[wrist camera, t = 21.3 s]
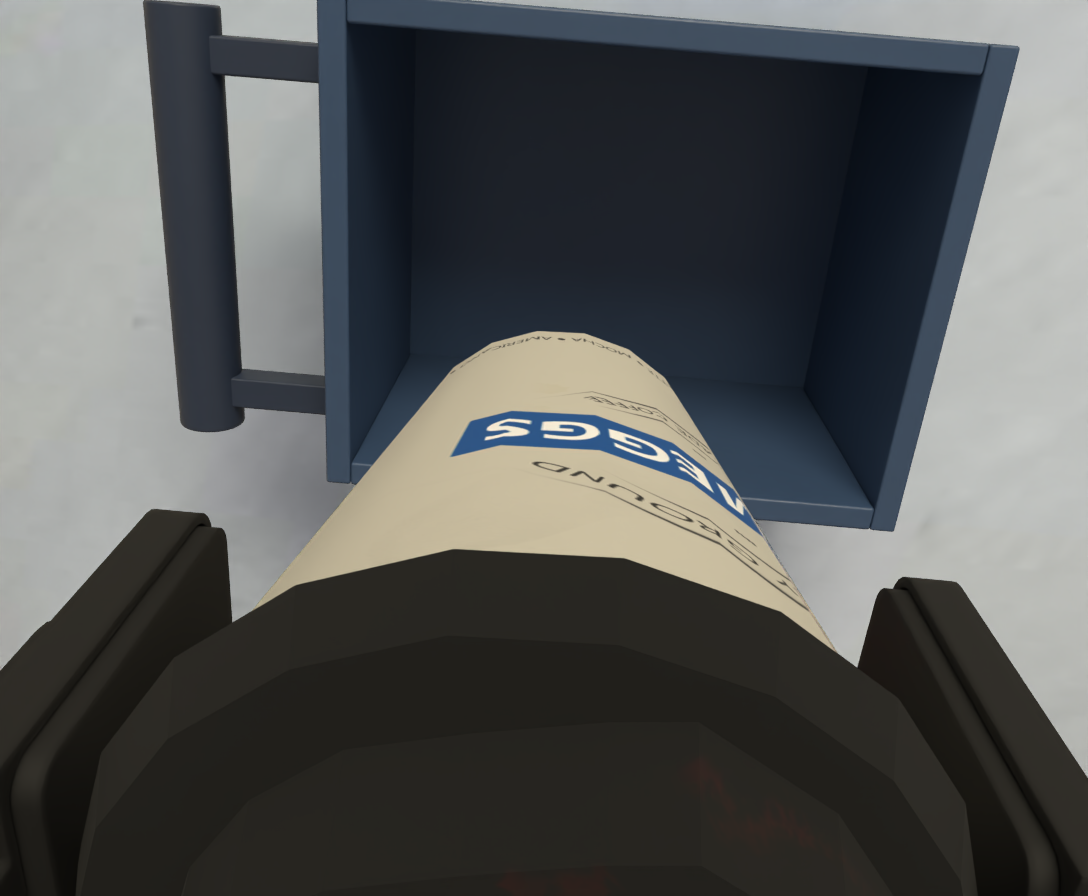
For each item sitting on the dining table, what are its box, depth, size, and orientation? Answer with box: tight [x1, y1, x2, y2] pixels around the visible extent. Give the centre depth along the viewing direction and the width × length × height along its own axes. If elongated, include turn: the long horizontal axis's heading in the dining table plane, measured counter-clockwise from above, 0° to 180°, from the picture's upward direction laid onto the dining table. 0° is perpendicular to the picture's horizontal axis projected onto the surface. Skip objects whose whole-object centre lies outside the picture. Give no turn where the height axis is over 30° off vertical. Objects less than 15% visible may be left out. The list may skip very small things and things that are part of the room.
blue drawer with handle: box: [143, 0, 1019, 532], centre depth 25 cm, size 18×11×9 cm, turn 86°
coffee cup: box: [75, 331, 978, 896], centre depth 11 cm, size 7×7×10 cm
